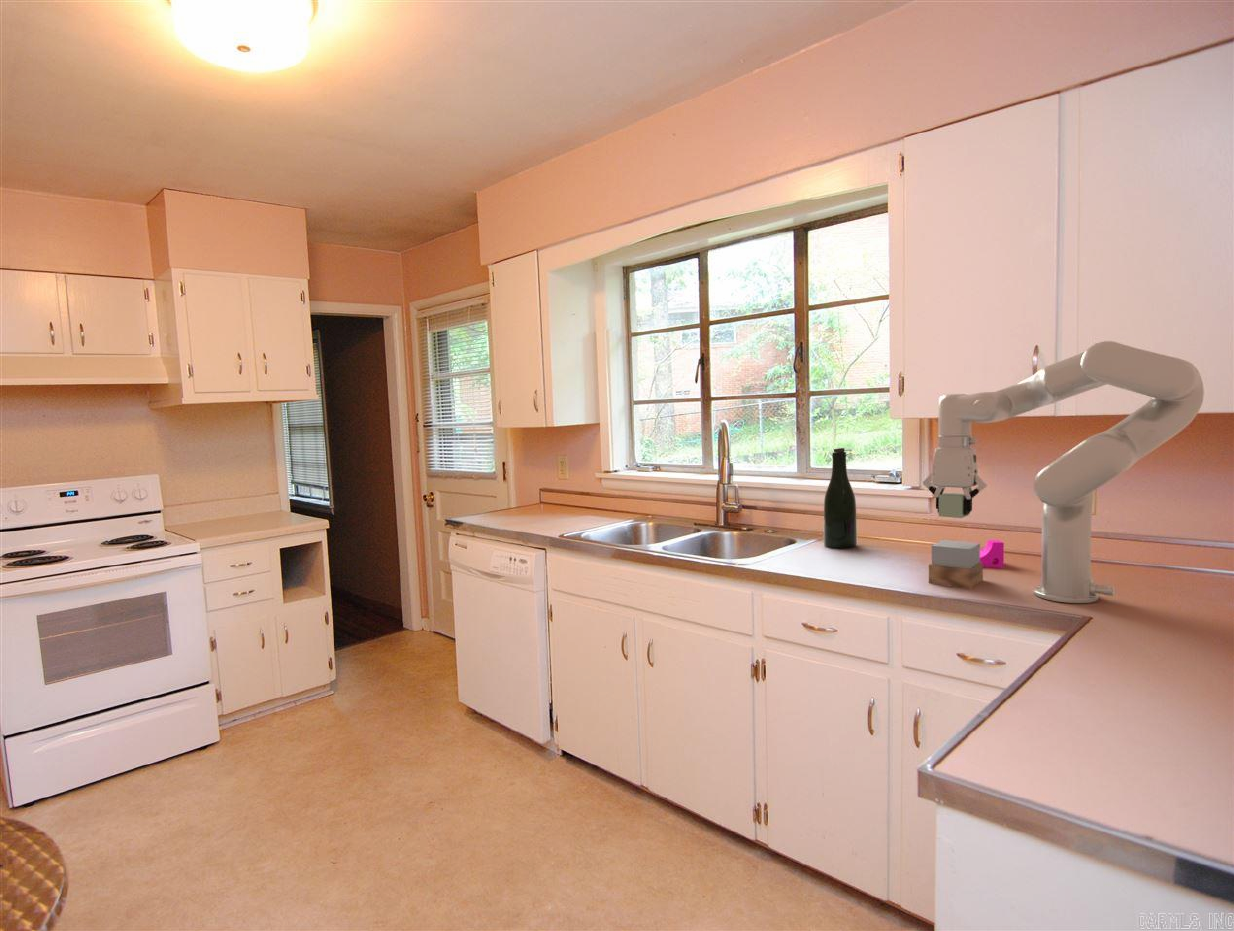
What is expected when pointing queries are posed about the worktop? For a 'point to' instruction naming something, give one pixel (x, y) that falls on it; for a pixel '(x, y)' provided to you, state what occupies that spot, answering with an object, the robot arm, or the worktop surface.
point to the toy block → (992, 554)
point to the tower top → (956, 554)
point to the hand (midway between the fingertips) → (953, 512)
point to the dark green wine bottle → (840, 507)
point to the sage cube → (951, 505)
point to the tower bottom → (956, 575)
